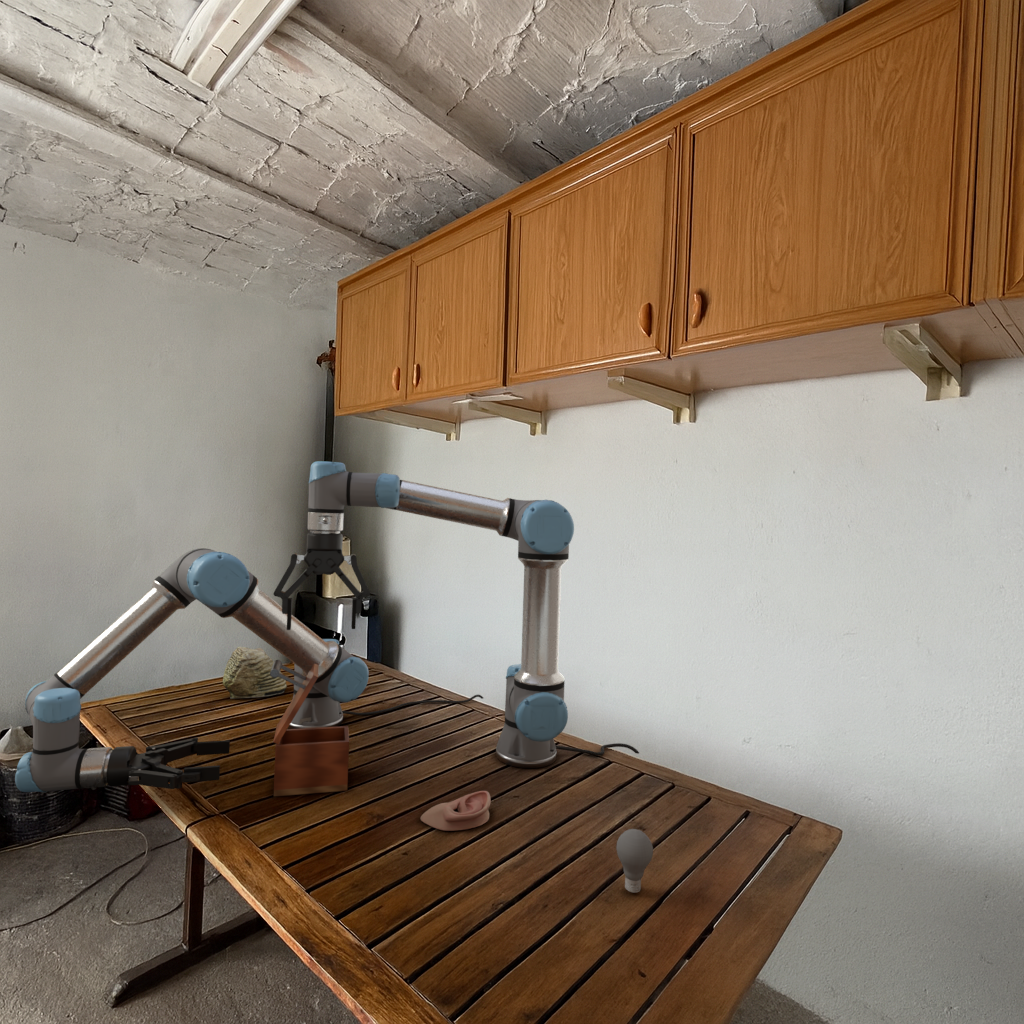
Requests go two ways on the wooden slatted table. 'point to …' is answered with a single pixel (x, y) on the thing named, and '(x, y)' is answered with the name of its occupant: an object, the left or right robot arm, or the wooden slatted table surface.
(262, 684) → the fossil
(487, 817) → the anatomical model
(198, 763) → the wooden slatted table surface
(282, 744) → the chest
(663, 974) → the wooden slatted table surface
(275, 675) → the lid
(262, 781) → the wooden slatted table surface
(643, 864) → the light bulb
